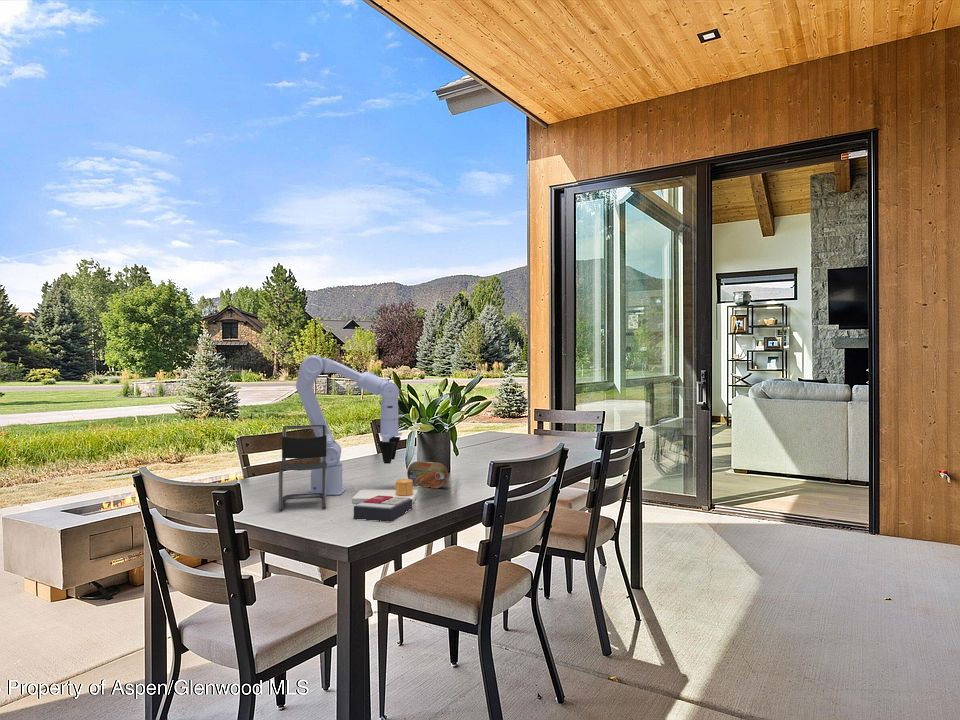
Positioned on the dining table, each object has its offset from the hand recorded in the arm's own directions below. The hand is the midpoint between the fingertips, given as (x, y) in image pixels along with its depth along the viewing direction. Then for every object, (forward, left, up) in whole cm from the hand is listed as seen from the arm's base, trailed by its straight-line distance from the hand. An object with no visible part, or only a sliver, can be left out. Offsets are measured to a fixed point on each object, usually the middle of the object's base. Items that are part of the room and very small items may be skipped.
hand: (389, 461), depth 195 cm
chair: (-22, -19, -10) cm, 31 cm away
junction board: (+1, -12, -9) cm, 15 cm away
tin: (+12, +6, -10) cm, 17 cm away
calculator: (+3, -29, -10) cm, 31 cm away
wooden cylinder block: (+7, -12, -8) cm, 16 cm away
